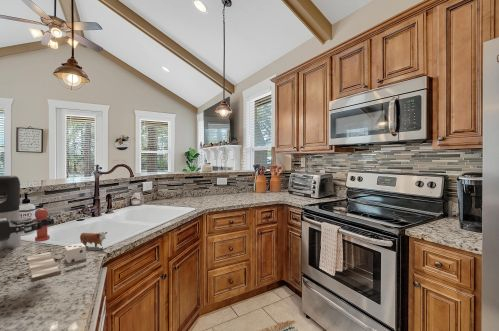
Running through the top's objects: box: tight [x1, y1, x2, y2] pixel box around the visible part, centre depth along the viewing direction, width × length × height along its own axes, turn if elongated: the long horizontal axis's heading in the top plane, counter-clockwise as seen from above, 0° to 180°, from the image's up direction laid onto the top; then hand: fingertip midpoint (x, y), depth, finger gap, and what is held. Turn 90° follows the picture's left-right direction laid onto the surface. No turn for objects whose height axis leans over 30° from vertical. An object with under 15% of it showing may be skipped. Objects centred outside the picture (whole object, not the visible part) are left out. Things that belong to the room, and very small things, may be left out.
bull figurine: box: [79, 231, 108, 248], centre depth 114 cm, size 4×13×8 cm, turn 78°
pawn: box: [34, 208, 51, 243], centre depth 93 cm, size 4×4×12 cm
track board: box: [26, 251, 62, 282], centre depth 97 cm, size 25×8×1 cm, turn 45°
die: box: [64, 242, 87, 264], centre depth 101 cm, size 6×6×6 cm
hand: (51, 220), depth 95 cm, fingers closed on pawn, 3 cm apart
